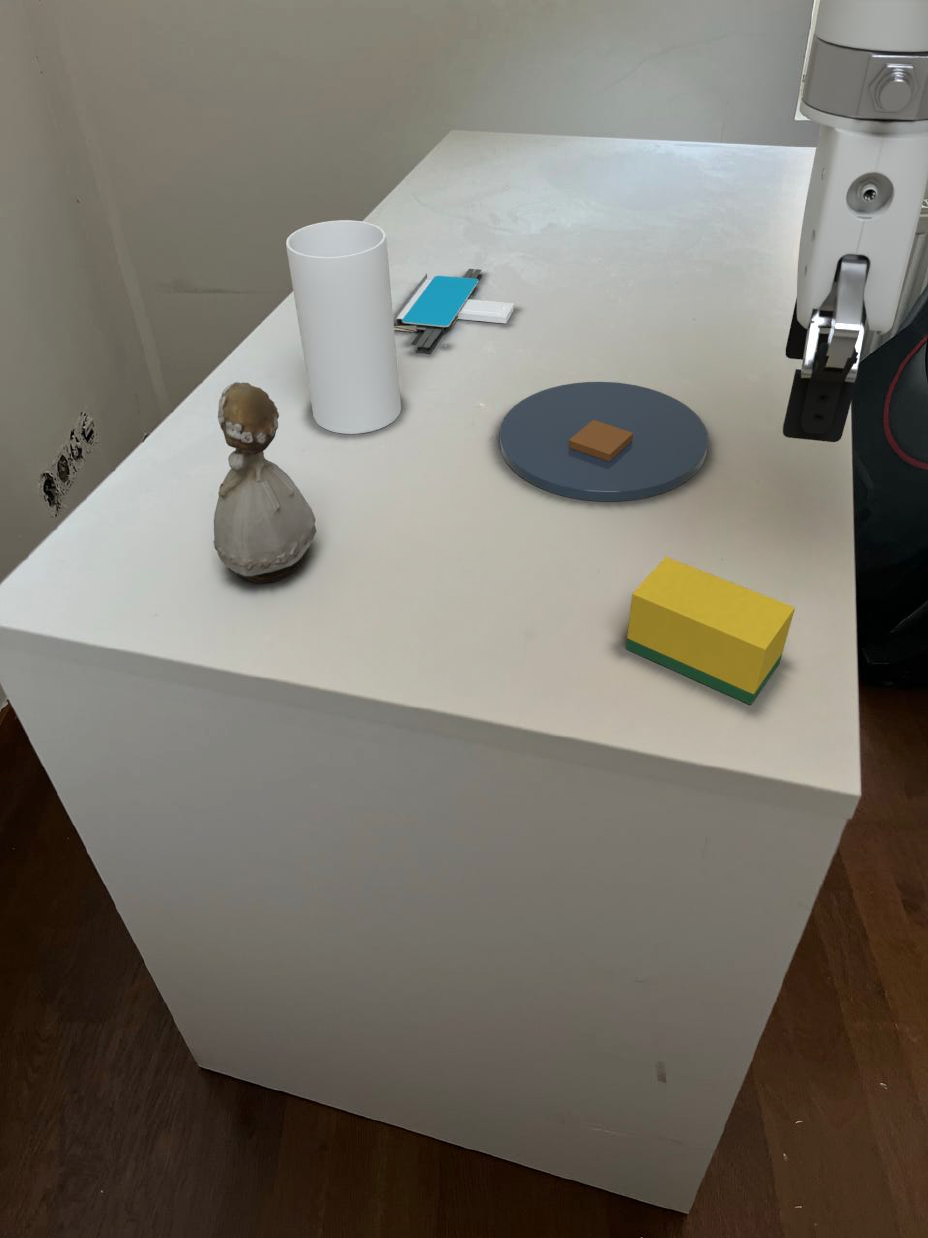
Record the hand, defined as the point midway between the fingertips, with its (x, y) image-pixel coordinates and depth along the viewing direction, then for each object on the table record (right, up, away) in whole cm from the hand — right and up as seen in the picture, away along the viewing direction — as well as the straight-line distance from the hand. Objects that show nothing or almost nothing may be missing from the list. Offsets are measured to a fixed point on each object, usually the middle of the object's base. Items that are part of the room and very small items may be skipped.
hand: (810, 395), depth 57 cm
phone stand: (-22, +20, +46) cm, 54 cm away
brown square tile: (-9, +1, +23) cm, 25 cm away
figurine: (-36, -10, +14) cm, 40 cm away
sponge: (-5, -16, +5) cm, 18 cm away
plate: (-9, +2, +25) cm, 27 cm away
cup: (-31, +6, +31) cm, 44 cm away
